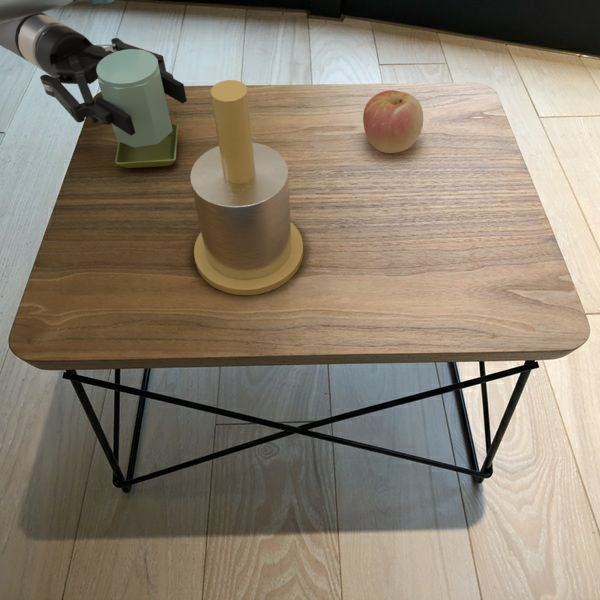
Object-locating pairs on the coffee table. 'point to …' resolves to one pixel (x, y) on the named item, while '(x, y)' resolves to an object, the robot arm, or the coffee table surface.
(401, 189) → the coffee table surface
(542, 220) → the coffee table surface
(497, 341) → the coffee table surface
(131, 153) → the saucer
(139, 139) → the jar
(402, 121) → the apple
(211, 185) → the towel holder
